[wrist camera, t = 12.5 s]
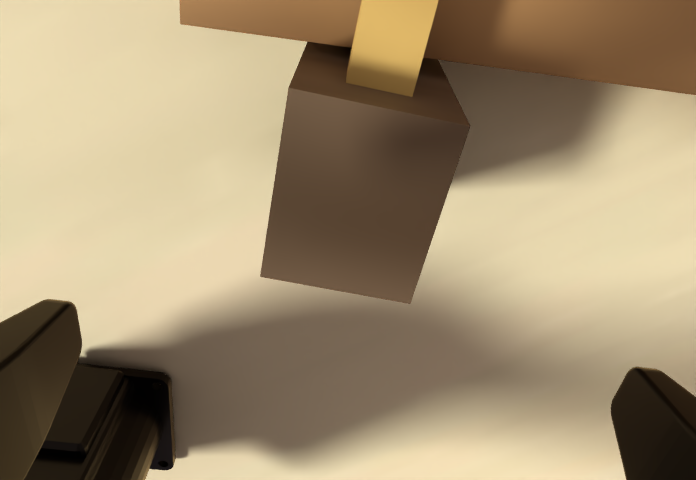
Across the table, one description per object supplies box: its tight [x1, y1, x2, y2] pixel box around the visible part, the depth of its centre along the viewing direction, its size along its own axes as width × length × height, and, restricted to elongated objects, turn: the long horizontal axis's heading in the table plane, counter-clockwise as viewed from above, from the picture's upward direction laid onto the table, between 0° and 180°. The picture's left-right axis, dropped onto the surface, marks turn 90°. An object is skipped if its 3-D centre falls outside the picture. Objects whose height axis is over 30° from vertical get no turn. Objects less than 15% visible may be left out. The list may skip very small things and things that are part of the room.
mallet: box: [260, 0, 470, 304], centre depth 14 cm, size 13×4×6 cm, turn 168°
